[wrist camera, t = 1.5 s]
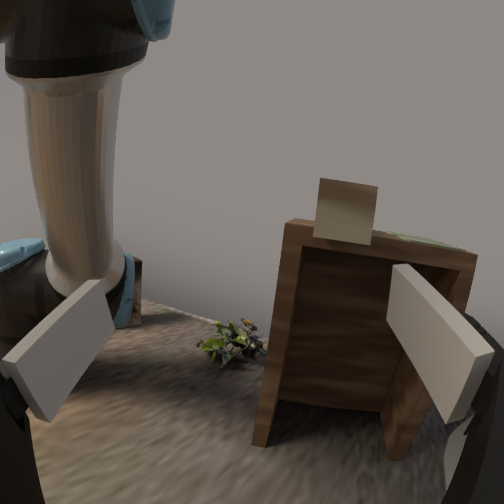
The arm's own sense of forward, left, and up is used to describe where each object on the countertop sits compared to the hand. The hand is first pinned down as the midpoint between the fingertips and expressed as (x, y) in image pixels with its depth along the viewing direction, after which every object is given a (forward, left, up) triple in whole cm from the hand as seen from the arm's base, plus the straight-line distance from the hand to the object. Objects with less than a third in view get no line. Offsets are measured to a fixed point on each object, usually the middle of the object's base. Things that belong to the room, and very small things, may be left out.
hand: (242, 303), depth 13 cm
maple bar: (-13, +17, +2) cm, 21 cm away
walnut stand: (-13, +25, -28) cm, 39 cm away
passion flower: (-37, +19, -28) cm, 50 cm away
